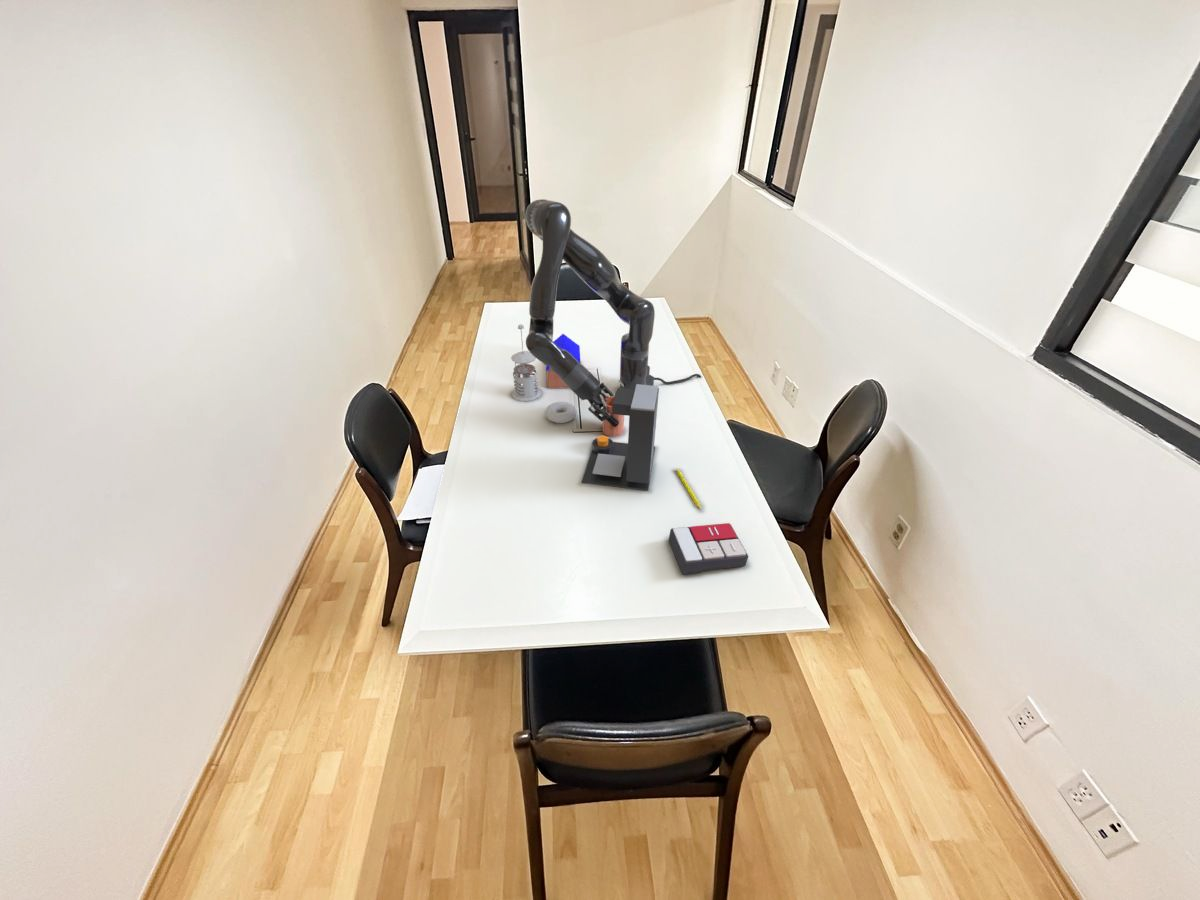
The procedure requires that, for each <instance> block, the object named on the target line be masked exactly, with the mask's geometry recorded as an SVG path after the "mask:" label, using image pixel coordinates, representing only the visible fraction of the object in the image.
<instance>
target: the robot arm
mask: <svg viewBox="0 0 1200 900" xmlns="http://www.w3.org/2000/svg"><path fill="white" fill-rule="evenodd" d="M525 222H526V225H527V228H528V229H529V230H530V232H531V233H532V235H534V236H536V237H537V238H538V239H540V241H542V251H541V257H540V261H539V265H538V267H537V269H536V272H535V274H534V277H533V279H532V282H531V286H530V293H529V309H528V311H529V314H528V315H529V316H530V318H529V330H528V334H527V336H526V337H525V346H526V349H527V351H528V352H530V353H531V354H532V355H533V356H534V357H535V359H537V360H538V361H539V362H541V363H542V364H544V365H545V366H546V365H547V366H548V367H550V368H551V369H552V370H553V371H554V372H555V373H556V374H557V375H558V376H559V377H560V378H561V379H562V380H563V381H564V383H565V384H566V385H567V386H568V387H569V389H570V390H571V391H572V392H573V393H574V394H575V395H576V396H577V397H578V398H579V399H580V400H581V401H585V400H586V401H588V402H589V404H590V406H589V407H588V408H587V409H588V411H589V412H590V413H591V414H592V415H593V416H595V418H597V419H598V420H599V421H600V422H603V421H604V420H607V421H608V422H609V423H610V424H611V425H612V426H613V427H616V426H617V425H619V421H618V420H617V419H616V418H615V417H614V416H613V415H612V414H611V413H610V412H609V410H608V409H607V404H606V401H607V400H606V398H608V397H610V396H615V394H613V392H612V391H611V390H610V389H609V388H608V387H607V386H606V385H605V384H604V382H600V381H599V380H598V378H597V377H595V376H594V374H592V373H591V371H589V370H588V369H587V368H586V367H585V365H584V364H582V363H581V362H580V363H581V364H580V363H579V362H578V361H577V360H576V359H575V358H574V357H573V356H572V355H571V354H570V353H569V352H568V351H566V350H565V349H561V348H559V347H558V346H557V345H556V344H555V343H554V342H553V339H554V317H555V311H556V303H557V301H556V300H557V292H558V291H557V290H558V283H559V278H560V273H561V268H562V265H563V261H564V262H565V263H566V264H567V265H568V266H569V268H570V269H571V270H572V271H573V272H574V273H575V275H577V276H578V277H579V279H581V281H583V283H585V284H586V285H587V286H588V288H590V289H591V290H592V291H593V292H594V293H595V294H597V295H598V296H600V297H601V298H602V299H603V300H605V302H606V303H607V304H608V305H609V306H610V308H611V309H612V310H613V312H614V313H615V314H616V315H617V317H618V318H619V319H620V320H621V321H622V322H623V323H625V324H627V325H629V329H628V332H627V333H625V334H623V335H622V336H621V338H620V339H621V340H620V358H619V359H620V360H619V379H618V384H619V386H618V388H623V389H634V390H635V387H636V384H640V385H651V386H655V385H654V384H655V381H659V382H661V383H663V385H664V384H665V385H673V384H678V383H682V382H686V381H689V380H691V379H693V378H694V377H697V378H702V375H701V374H699V373H694V374H691V375H690V376H688V377H685V378H682V379H678V380H672V381H666V380H664V378H661V377H655V376H653V375H651V373H650V371H651V367H650V365H649V354H650V353H649V352H650V342H651V340H652V338H653V332H654V325H655V318H656V317H655V316H656V314H655V312H656V311H655V306H654V304H653V303H652V302H651V301H649V300H648V299H646V298H644V297H642V296H640V295H638V294H636V293H635V292H633V291H632V290H630V289H629V288H628V287H627V286H626V285H624V283H623V282H622V281H621V280H620V279H621V278H619V274H618V272H617V269H616V268H615V266H614V264H612V262H611V261H610V260H609V258H608V257H607V256H606V255H605V254H604V253H603V252H602V251H601V250H599V248H598V247H596V246H595V245H593V244H592V243H591V242H589V241H588V240H586V239H585V238H583V237H581V236H580V235H579V234H577V233H576V232H575V231H574V230H573V229H571V227H572V215H571V212H570V210H569V208H568V207H567V206H566V205H565V204H564V203H562V202H559V201H555V200H550V199H545V198H543V199H541V198H540V199H535V200H533V201H532V202H531V203H529V204H528V206H527V208H526V210H525ZM603 406H604V407H603ZM604 410H605V411H606V413H605V412H604Z"/></svg>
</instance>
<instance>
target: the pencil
mask: <svg viewBox="0 0 1200 900" xmlns="http://www.w3.org/2000/svg"><path fill="white" fill-rule="evenodd" d="M675 472H676V475H677V476H678V477H679V479H680V481H681V482H682V484H683V486H684V487H685V489H686V491H687V493H688V495H689V496H690V497H691V499H692V501H693V503H694V504H695V506H696V507H697V508H698V509H699V510H702V508H701V503H700V502H699V500H698V499H697V497H696V495H695V494H694V491H693V490H692V488H691V487H690V485H689V484H688V482H687V481H686V479H685V477H684V475H683V474H682V472H681V470H680V469H679V468H677V469H675Z"/></svg>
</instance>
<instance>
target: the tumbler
mask: <svg viewBox="0 0 1200 900" xmlns="http://www.w3.org/2000/svg"><path fill="white" fill-rule="evenodd" d="M614 397H615V395H614V396H610V397H608V398H606V400H607V401H606V404H607V409H608V410H609V412H610V413H611V414H612V403H613V400H614ZM603 407H604V406H603ZM603 407H602V408H603ZM604 412H605V413H606V411H605V410H604ZM612 415H613V416H614V417H615V418H616V419H617V420H618V421H619V425H617V426H616V427H613V426H612V425H611V424H610V423H609V422H608V421H607V420H604V421H602V433H603V434H604V436H607V437H612V438H614V437H619V436H621V435H623V433H624V431H625V415H617V414H612Z"/></svg>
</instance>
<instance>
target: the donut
mask: <svg viewBox="0 0 1200 900" xmlns="http://www.w3.org/2000/svg"><path fill="white" fill-rule="evenodd" d="M544 415H545V417H546V419H548V421H549V422H552V423H556V424H566V423H569V422H571V421H572V420H574V419H575V418H576V416H577V409H576V406H574V404H572V403H569V402H567V401H556V402H552V403H551V404H549V405H548V406H547V407H546V408H545V410H544Z"/></svg>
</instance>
